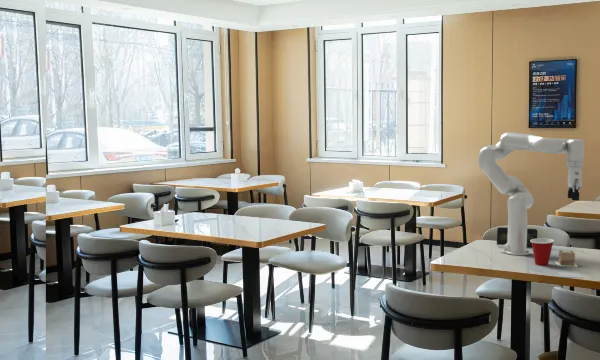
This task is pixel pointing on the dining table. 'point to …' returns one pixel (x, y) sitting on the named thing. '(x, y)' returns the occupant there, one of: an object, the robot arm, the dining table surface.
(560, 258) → the letter block
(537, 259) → the plastic cup
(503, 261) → the dining table surface
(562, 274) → the grey pad
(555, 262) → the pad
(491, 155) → the robot arm
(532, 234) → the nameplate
